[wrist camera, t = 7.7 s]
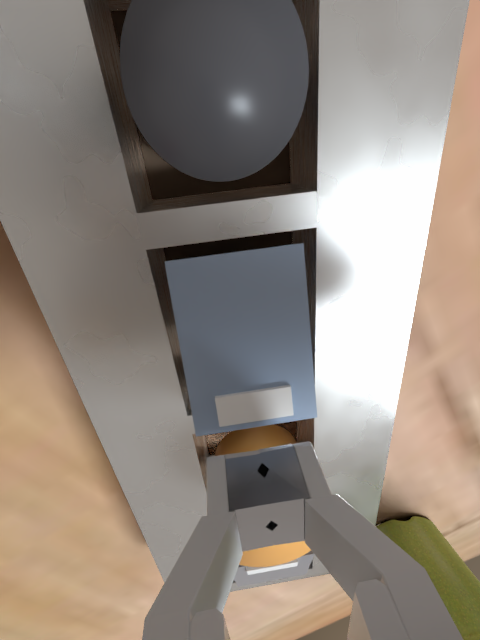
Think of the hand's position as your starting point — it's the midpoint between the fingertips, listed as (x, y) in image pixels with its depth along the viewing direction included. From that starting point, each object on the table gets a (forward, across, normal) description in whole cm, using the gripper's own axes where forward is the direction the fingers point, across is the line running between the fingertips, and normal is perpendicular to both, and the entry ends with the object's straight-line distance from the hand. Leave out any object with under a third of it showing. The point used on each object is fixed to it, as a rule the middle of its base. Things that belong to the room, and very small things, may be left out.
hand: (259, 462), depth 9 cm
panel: (+6, 0, +1) cm, 6 cm away
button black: (+5, 0, -9) cm, 11 cm away
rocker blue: (+3, 0, -3) cm, 4 cm away
